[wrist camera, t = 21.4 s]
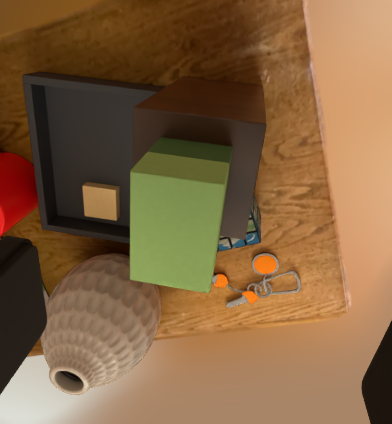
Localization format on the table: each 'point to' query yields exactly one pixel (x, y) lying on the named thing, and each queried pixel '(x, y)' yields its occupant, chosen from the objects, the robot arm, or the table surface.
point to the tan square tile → (101, 201)
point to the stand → (210, 133)
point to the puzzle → (251, 236)
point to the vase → (98, 323)
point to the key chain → (262, 266)
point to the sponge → (178, 213)
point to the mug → (16, 190)
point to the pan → (81, 147)
